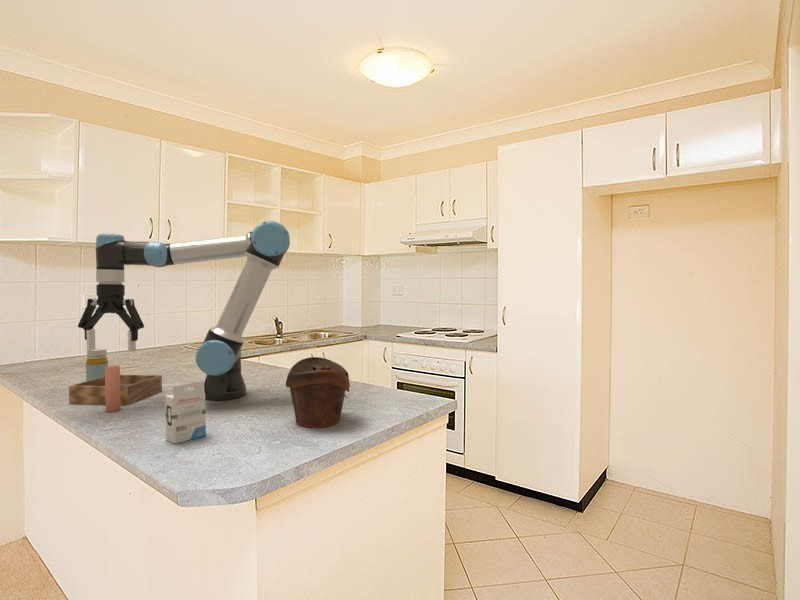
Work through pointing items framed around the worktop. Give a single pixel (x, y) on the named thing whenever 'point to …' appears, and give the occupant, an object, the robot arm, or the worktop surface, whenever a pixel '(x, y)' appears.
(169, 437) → the ink box
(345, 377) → the chocolate muffin
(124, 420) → the worktop surface
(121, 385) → the crate
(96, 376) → the bottle
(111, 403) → the peg
